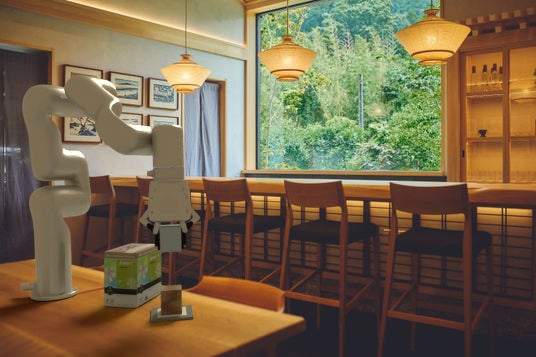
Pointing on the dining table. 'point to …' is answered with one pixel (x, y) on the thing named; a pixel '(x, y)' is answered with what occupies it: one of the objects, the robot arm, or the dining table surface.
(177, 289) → the walnut block
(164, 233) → the blue-grey block
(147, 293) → the tea box
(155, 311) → the slate mat
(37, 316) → the dining table surface
